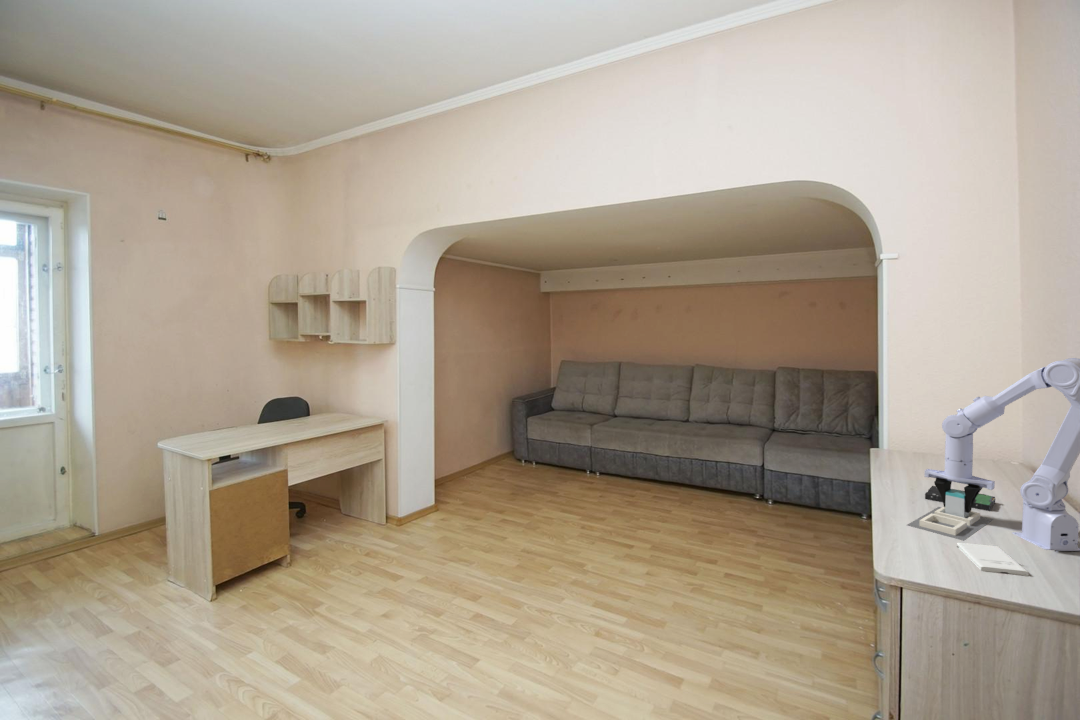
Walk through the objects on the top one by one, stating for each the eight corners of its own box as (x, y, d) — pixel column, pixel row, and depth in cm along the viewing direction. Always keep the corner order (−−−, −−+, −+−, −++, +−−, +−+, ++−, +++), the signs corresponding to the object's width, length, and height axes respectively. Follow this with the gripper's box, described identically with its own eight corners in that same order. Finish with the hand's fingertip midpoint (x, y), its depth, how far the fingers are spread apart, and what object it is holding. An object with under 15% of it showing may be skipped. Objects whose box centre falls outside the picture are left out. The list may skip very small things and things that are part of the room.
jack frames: (955, 535, 126) (955, 529, 126) (919, 525, 133) (919, 520, 132) (980, 518, 136) (980, 513, 136) (945, 510, 142) (945, 505, 142)
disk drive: (924, 503, 151) (991, 514, 141) (924, 493, 151) (991, 505, 140) (931, 493, 158) (995, 504, 148) (931, 485, 158) (995, 495, 147)
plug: (963, 521, 134) (964, 495, 134) (945, 517, 137) (945, 491, 137) (969, 518, 136) (969, 492, 136) (950, 513, 140) (951, 488, 139)
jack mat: (963, 542, 123) (963, 540, 123) (906, 526, 133) (906, 525, 133) (993, 521, 135) (993, 519, 135) (938, 508, 145) (938, 506, 145)
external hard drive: (999, 553, 119) (1028, 578, 107) (956, 548, 122) (980, 573, 110) (999, 546, 119) (1029, 570, 107) (956, 542, 122) (980, 565, 110)
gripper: (999, 462, 132) (997, 513, 133) (932, 451, 144) (931, 498, 145) (989, 467, 128) (988, 520, 129) (921, 455, 140) (920, 504, 141)
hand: (957, 509), depth 137 cm, fingers closed on plug, 4 cm apart
